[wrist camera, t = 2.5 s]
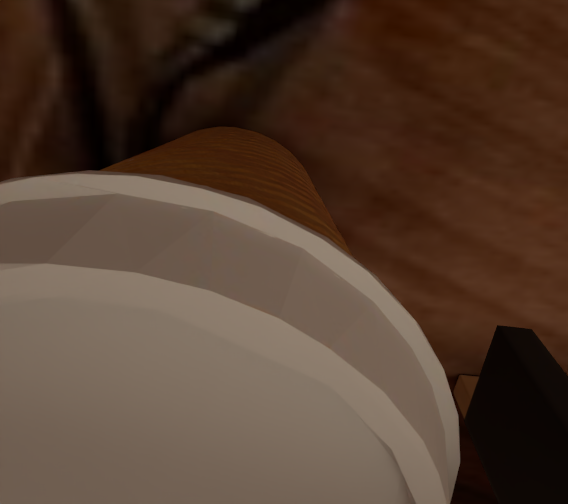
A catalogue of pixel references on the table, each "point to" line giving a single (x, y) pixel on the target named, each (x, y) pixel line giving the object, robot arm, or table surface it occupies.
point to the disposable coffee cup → (207, 341)
